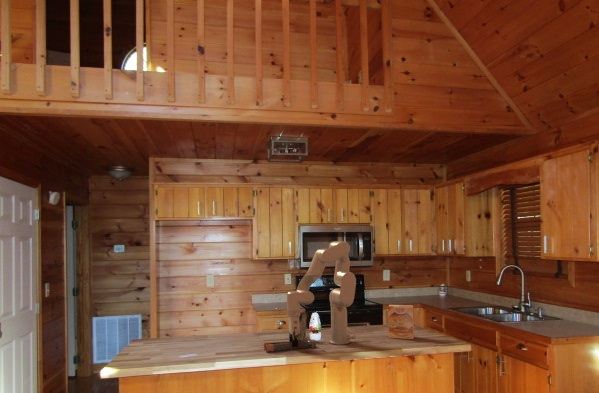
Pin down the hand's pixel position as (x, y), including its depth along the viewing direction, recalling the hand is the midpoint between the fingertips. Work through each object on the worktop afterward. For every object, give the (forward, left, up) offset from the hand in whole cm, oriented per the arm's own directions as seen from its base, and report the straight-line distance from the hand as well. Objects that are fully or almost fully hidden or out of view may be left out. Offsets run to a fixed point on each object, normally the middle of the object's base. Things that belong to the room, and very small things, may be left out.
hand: (293, 344), depth 256 cm
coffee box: (-7, -22, -2) cm, 23 cm away
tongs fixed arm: (+2, 0, -2) cm, 3 cm away
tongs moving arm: (+3, +3, -1) cm, 5 cm away
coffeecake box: (-70, -8, -2) cm, 71 cm away
